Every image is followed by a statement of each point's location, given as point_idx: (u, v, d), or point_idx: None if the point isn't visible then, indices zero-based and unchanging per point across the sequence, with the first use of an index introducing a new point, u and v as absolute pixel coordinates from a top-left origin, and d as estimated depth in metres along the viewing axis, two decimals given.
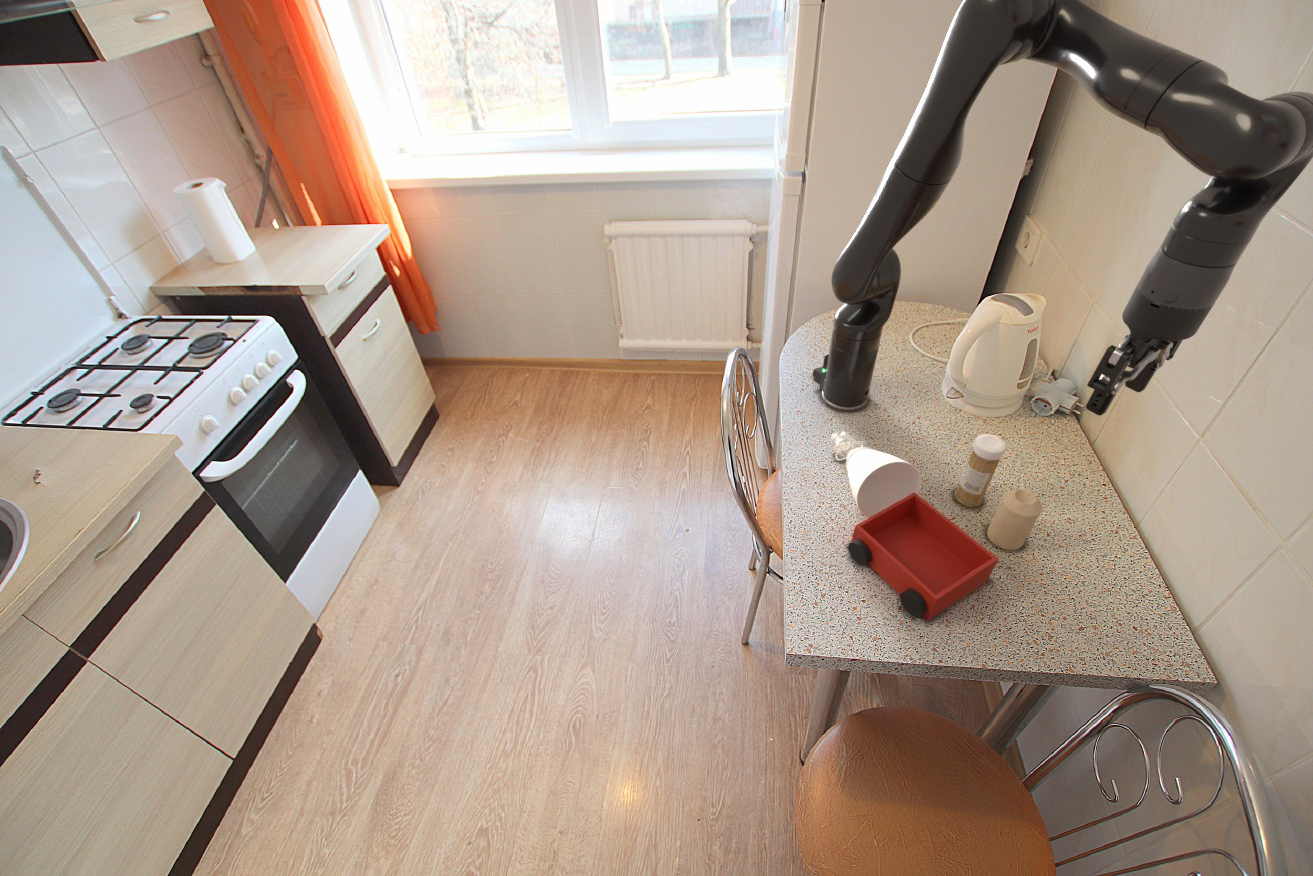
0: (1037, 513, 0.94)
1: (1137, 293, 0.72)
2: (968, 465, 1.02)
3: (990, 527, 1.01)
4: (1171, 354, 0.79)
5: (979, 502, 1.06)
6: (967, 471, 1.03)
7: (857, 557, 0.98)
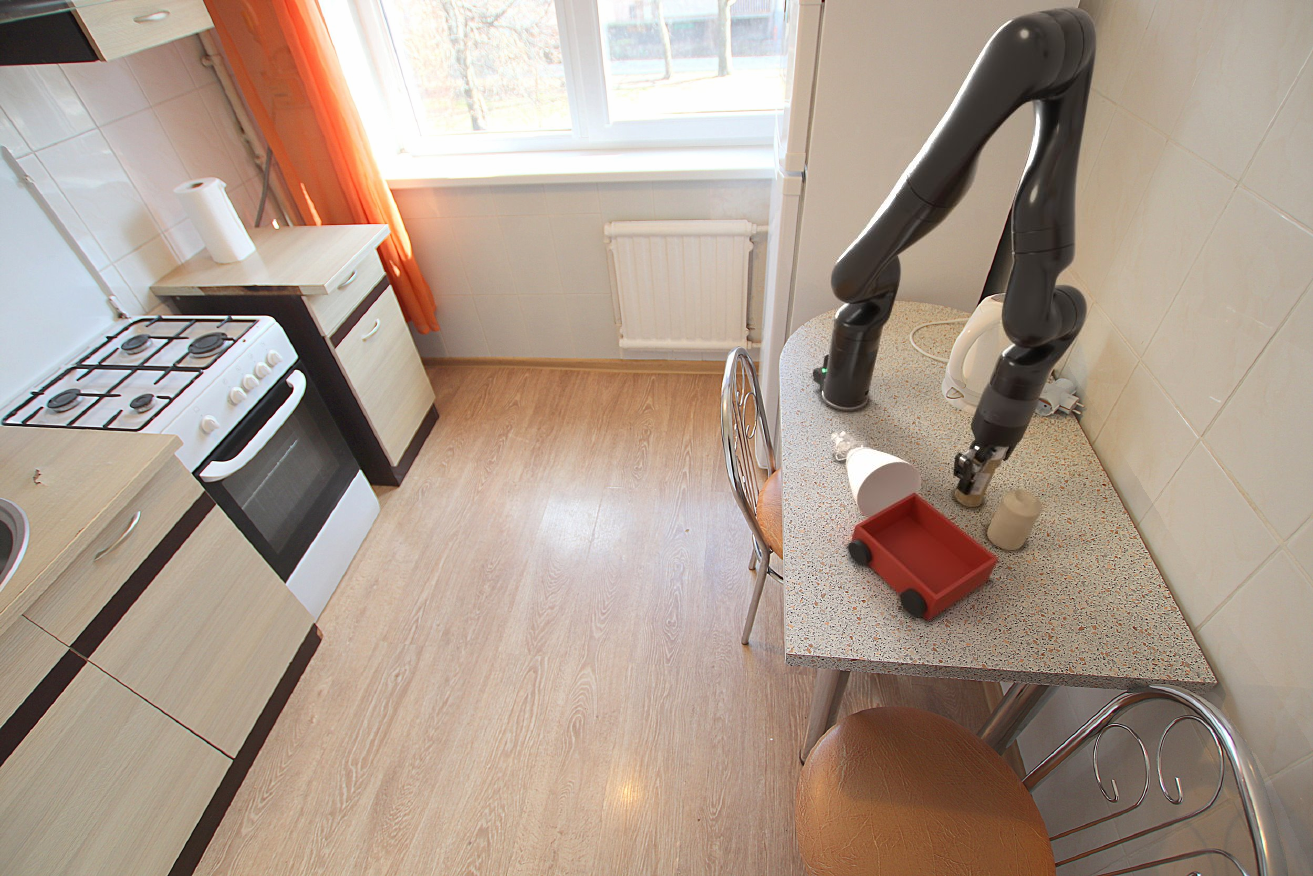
0: (1037, 513, 0.94)
1: (977, 410, 0.95)
2: None
3: (990, 527, 1.01)
4: (1007, 456, 1.03)
5: (979, 502, 1.06)
6: None
7: (857, 557, 0.98)
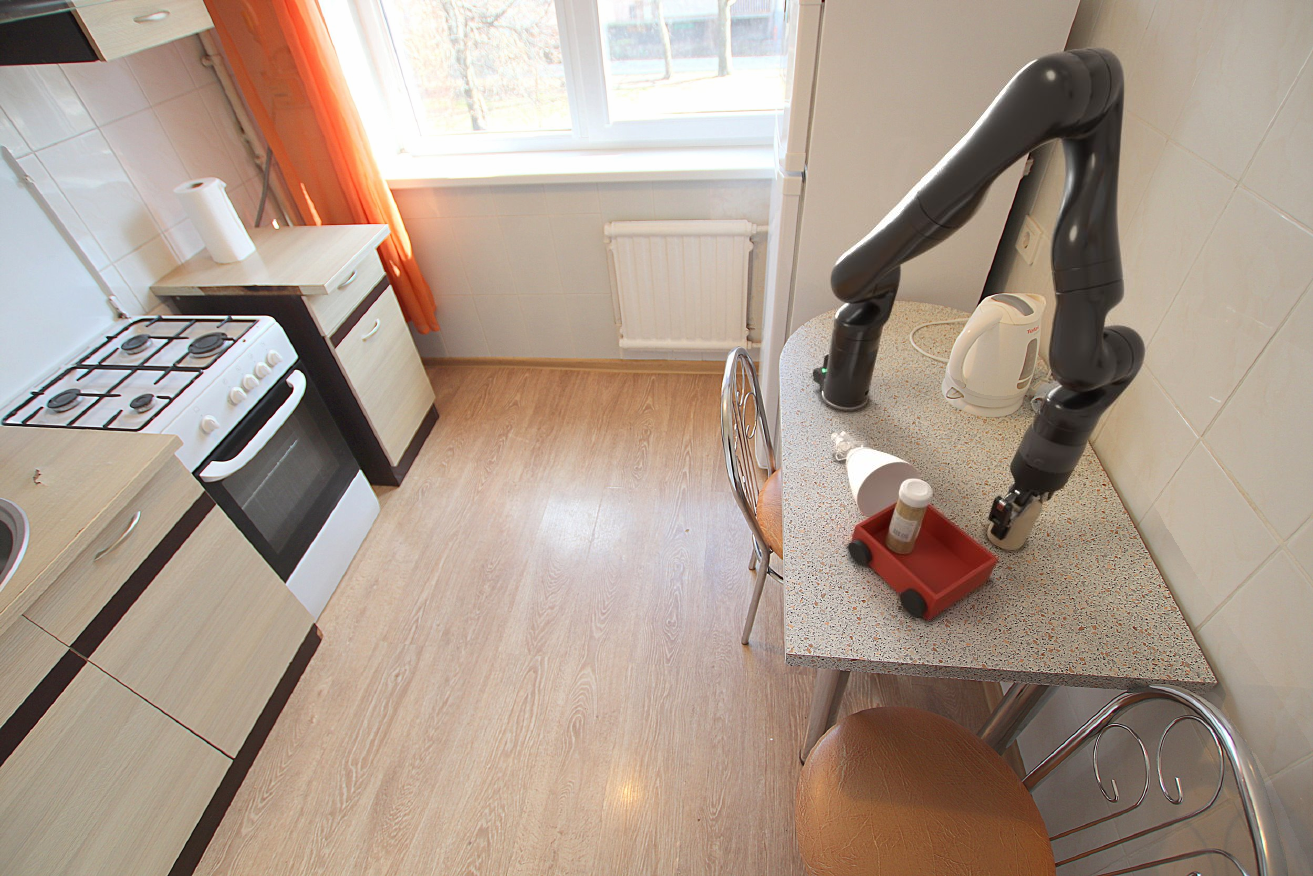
0: (1037, 513, 0.94)
1: (1018, 453, 0.90)
2: (895, 511, 0.95)
3: (990, 527, 1.01)
4: (1049, 496, 0.97)
5: (910, 549, 0.99)
6: (895, 517, 0.96)
7: (857, 557, 0.98)
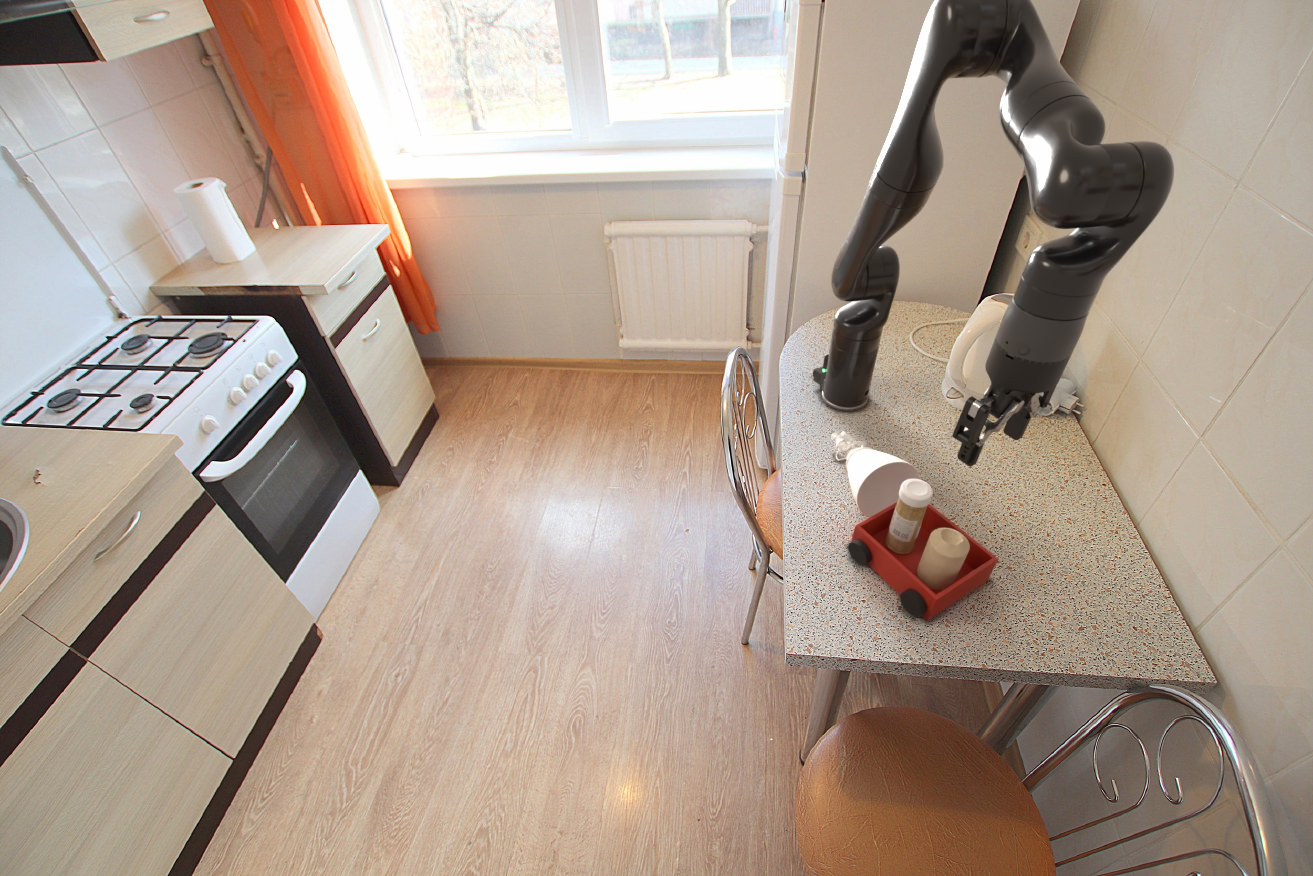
0: (963, 554, 0.88)
1: (995, 342, 0.68)
2: (895, 511, 0.95)
3: (919, 566, 0.95)
4: (1045, 402, 0.75)
5: (910, 549, 0.99)
6: (895, 517, 0.96)
7: (857, 557, 0.98)
